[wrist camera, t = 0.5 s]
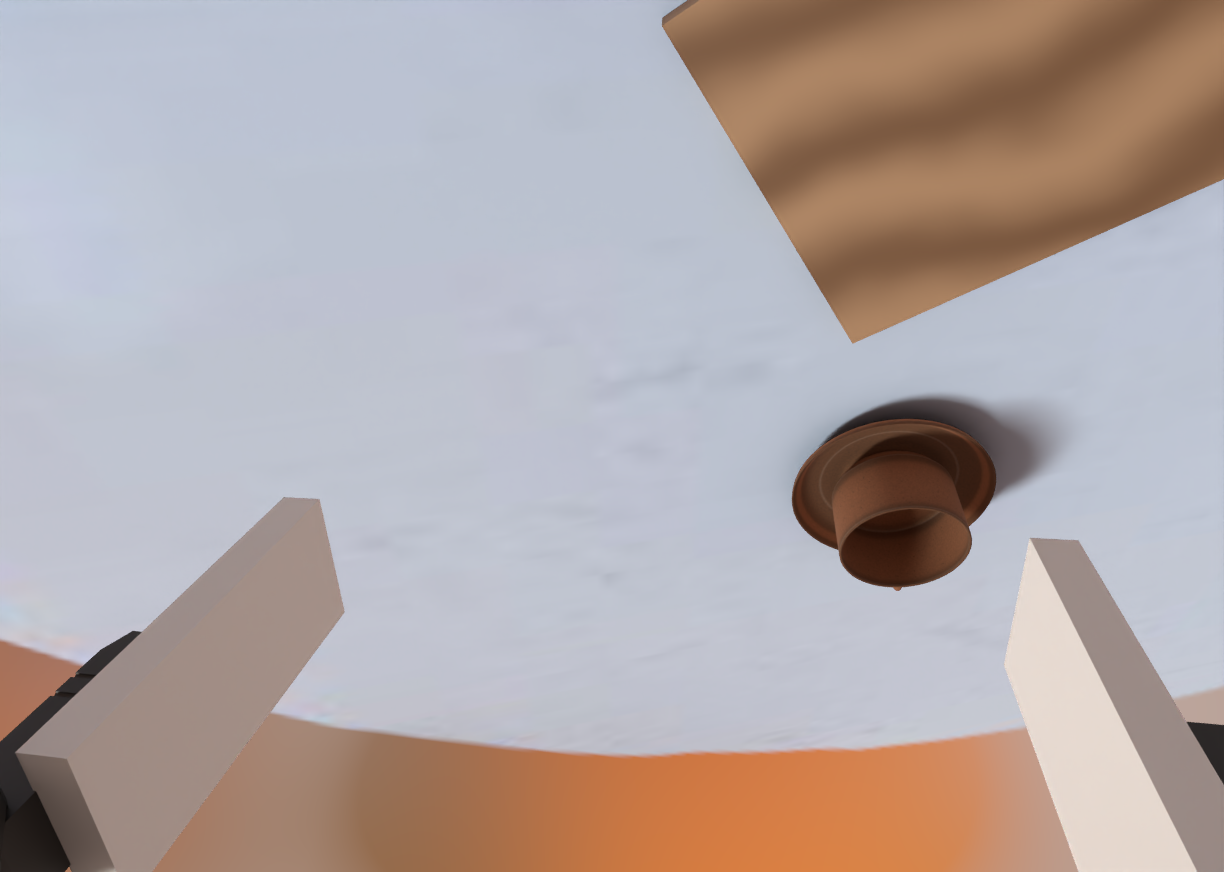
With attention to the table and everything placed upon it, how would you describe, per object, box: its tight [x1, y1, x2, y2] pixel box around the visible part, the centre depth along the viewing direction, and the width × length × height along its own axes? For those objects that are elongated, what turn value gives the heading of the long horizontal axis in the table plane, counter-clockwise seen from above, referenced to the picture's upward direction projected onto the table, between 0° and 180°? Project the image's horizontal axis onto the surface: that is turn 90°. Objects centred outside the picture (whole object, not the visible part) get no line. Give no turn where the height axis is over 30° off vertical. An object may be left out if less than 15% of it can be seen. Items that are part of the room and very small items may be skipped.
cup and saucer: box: [792, 419, 996, 591], centre depth 50 cm, size 12×12×6 cm
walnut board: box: [662, 0, 1224, 343], centre depth 35 cm, size 19×19×1 cm
